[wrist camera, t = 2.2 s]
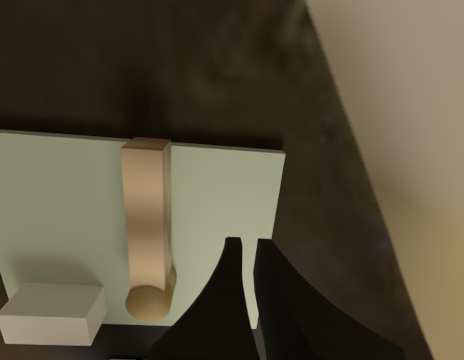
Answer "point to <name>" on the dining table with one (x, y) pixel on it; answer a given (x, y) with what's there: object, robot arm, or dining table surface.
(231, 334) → the robot arm
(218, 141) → the dining table surface
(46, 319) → the block
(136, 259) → the leg
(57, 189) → the board
